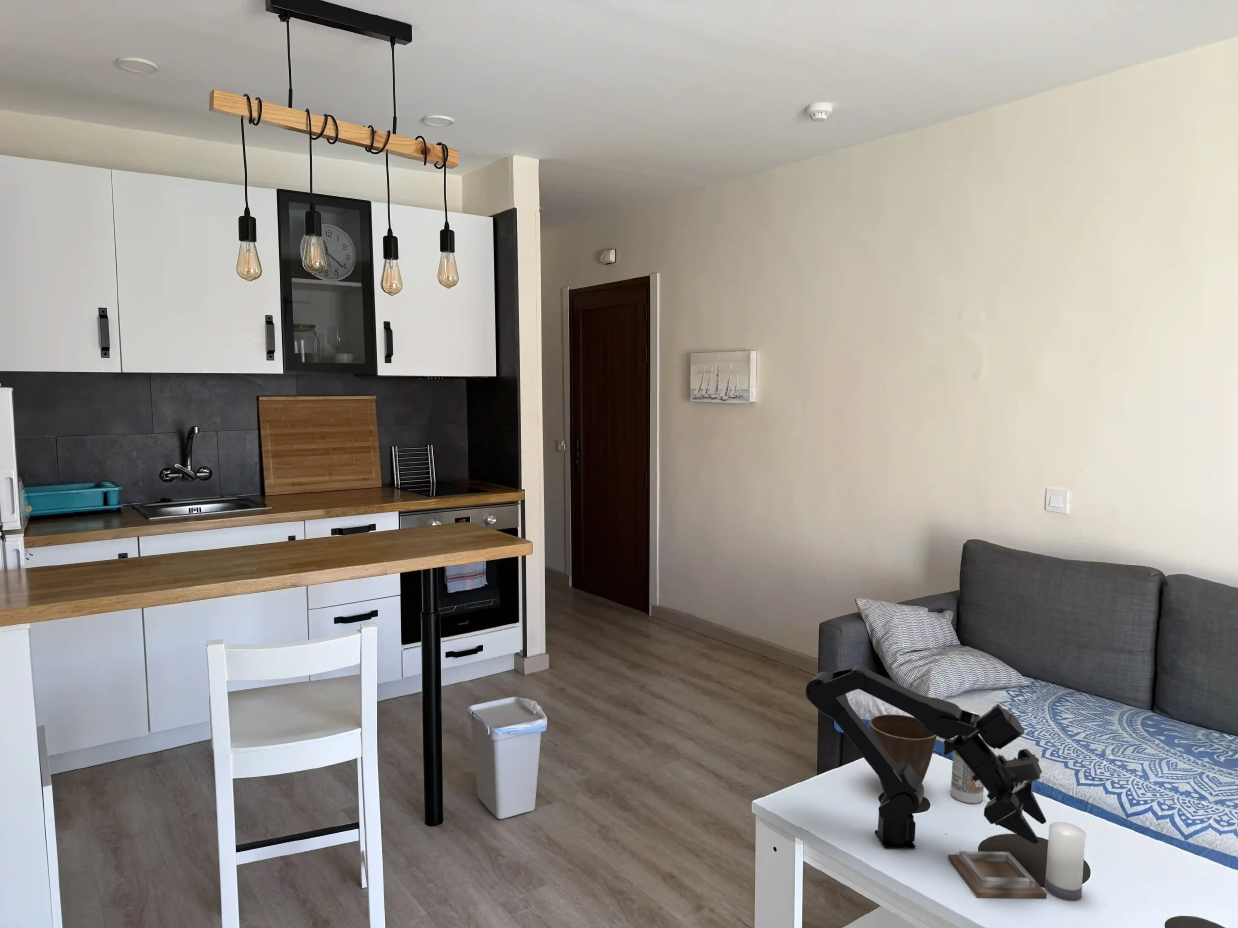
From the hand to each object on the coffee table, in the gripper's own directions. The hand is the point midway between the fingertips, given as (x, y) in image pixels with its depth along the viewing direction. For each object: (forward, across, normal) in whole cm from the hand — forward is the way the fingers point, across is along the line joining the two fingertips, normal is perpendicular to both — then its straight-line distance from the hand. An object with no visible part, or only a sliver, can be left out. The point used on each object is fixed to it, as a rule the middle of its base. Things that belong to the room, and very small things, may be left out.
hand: (1040, 832), depth 159 cm
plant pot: (-16, +22, +30) cm, 40 cm away
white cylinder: (+10, 0, +4) cm, 11 cm away
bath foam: (-6, +29, +21) cm, 36 cm away
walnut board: (+2, -3, +12) cm, 13 cm away
